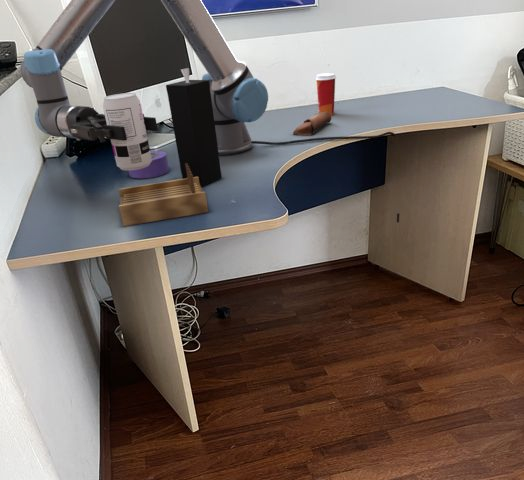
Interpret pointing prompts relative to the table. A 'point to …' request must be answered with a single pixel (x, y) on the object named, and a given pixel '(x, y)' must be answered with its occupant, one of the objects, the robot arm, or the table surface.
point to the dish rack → (162, 200)
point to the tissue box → (194, 128)
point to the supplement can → (128, 131)
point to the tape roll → (152, 167)
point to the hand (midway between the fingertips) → (140, 128)
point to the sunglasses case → (313, 124)
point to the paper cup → (326, 92)
